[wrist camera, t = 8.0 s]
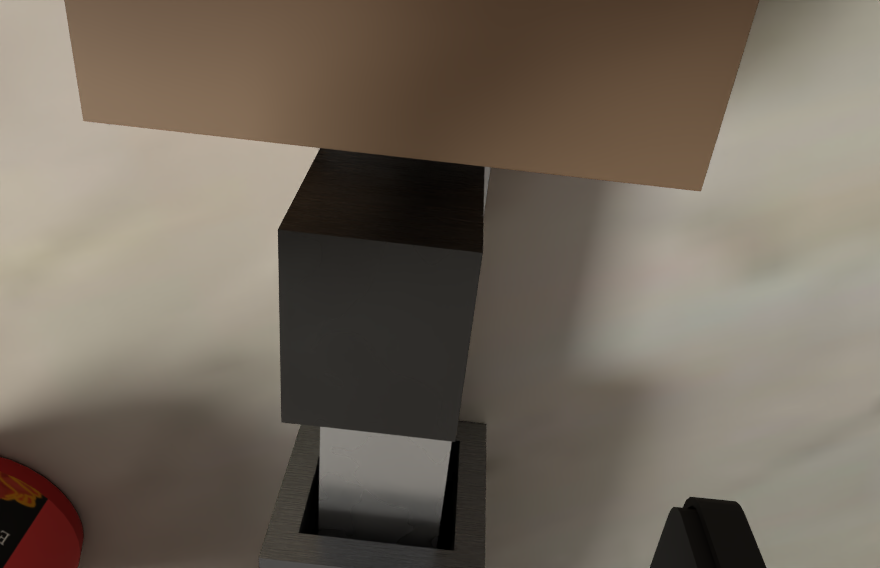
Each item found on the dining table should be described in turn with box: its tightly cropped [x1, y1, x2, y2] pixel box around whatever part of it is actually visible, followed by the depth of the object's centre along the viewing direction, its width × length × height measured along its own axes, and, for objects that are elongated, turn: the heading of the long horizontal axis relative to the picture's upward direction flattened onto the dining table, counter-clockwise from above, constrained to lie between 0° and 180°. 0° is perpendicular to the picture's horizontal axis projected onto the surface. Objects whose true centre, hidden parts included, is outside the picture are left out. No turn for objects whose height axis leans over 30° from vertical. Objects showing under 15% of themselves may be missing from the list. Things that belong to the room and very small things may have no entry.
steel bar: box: [278, 148, 491, 549], centre depth 19 cm, size 20×4×9 cm, turn 174°
